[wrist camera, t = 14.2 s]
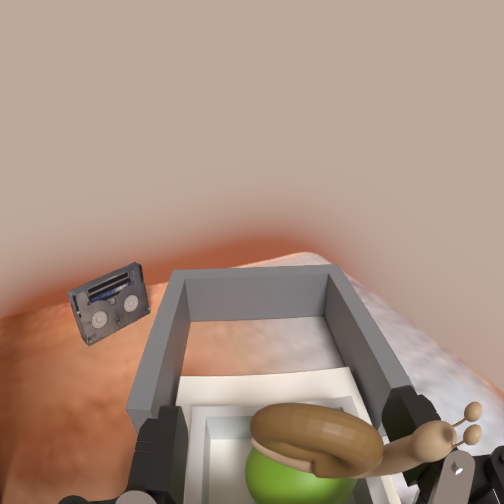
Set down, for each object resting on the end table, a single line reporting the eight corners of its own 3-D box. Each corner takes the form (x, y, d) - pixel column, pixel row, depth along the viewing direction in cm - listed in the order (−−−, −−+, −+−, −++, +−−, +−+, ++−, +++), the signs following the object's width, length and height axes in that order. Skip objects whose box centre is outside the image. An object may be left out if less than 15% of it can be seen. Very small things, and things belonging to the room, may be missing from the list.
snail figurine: (345, 530, 11) (477, 521, 3) (232, 505, 13) (188, 478, 5) (368, 448, 15) (481, 335, 7) (265, 425, 17) (272, 291, 9)
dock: (147, 451, 17) (125, 408, 15) (179, 310, 34) (173, 270, 32) (392, 434, 18) (414, 388, 16) (332, 304, 34) (337, 264, 32)
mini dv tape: (142, 308, 34) (133, 260, 32) (150, 313, 33) (141, 264, 31) (82, 340, 28) (66, 289, 26) (89, 346, 27) (72, 295, 25)
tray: (128, 591, 7) (96, 582, 5) (162, 384, 23) (151, 346, 21) (439, 557, 8) (476, 538, 6) (365, 372, 24) (375, 335, 22)
